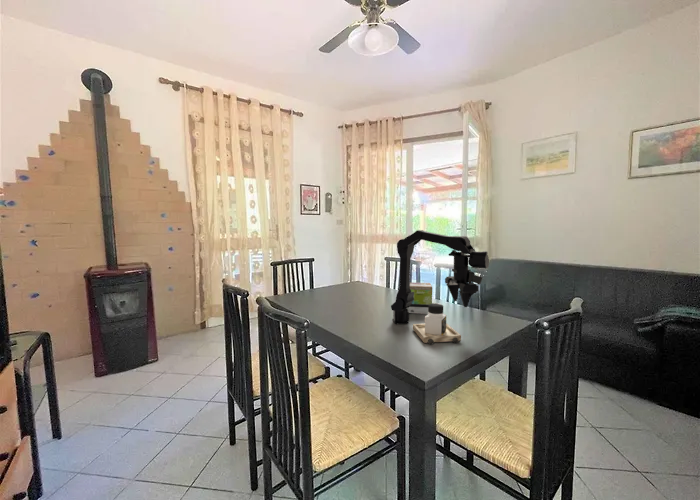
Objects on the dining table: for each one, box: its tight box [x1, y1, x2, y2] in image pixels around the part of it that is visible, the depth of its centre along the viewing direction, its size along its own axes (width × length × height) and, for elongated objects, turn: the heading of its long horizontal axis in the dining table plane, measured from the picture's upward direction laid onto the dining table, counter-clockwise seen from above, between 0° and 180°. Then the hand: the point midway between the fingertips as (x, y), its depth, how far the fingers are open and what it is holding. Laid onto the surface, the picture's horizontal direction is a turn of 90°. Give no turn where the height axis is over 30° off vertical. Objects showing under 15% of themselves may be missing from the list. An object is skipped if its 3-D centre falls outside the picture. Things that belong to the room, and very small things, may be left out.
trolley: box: [412, 322, 462, 345], centre depth 126 cm, size 15×17×3 cm
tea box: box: [407, 281, 433, 315], centre depth 160 cm, size 15×10×15 cm, turn 82°
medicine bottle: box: [424, 302, 447, 336], centre depth 126 cm, size 7×7×12 cm
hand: (460, 304), depth 126 cm, fingers open, 9 cm apart
